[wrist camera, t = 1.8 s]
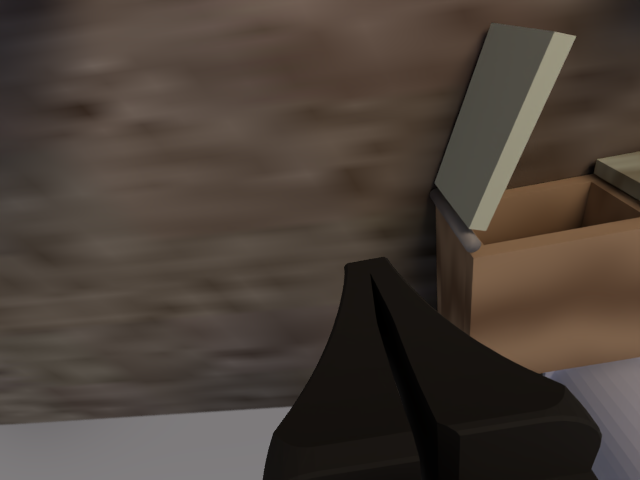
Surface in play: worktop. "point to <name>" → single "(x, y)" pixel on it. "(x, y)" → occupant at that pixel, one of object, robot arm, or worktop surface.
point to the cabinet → (552, 271)
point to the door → (496, 124)
